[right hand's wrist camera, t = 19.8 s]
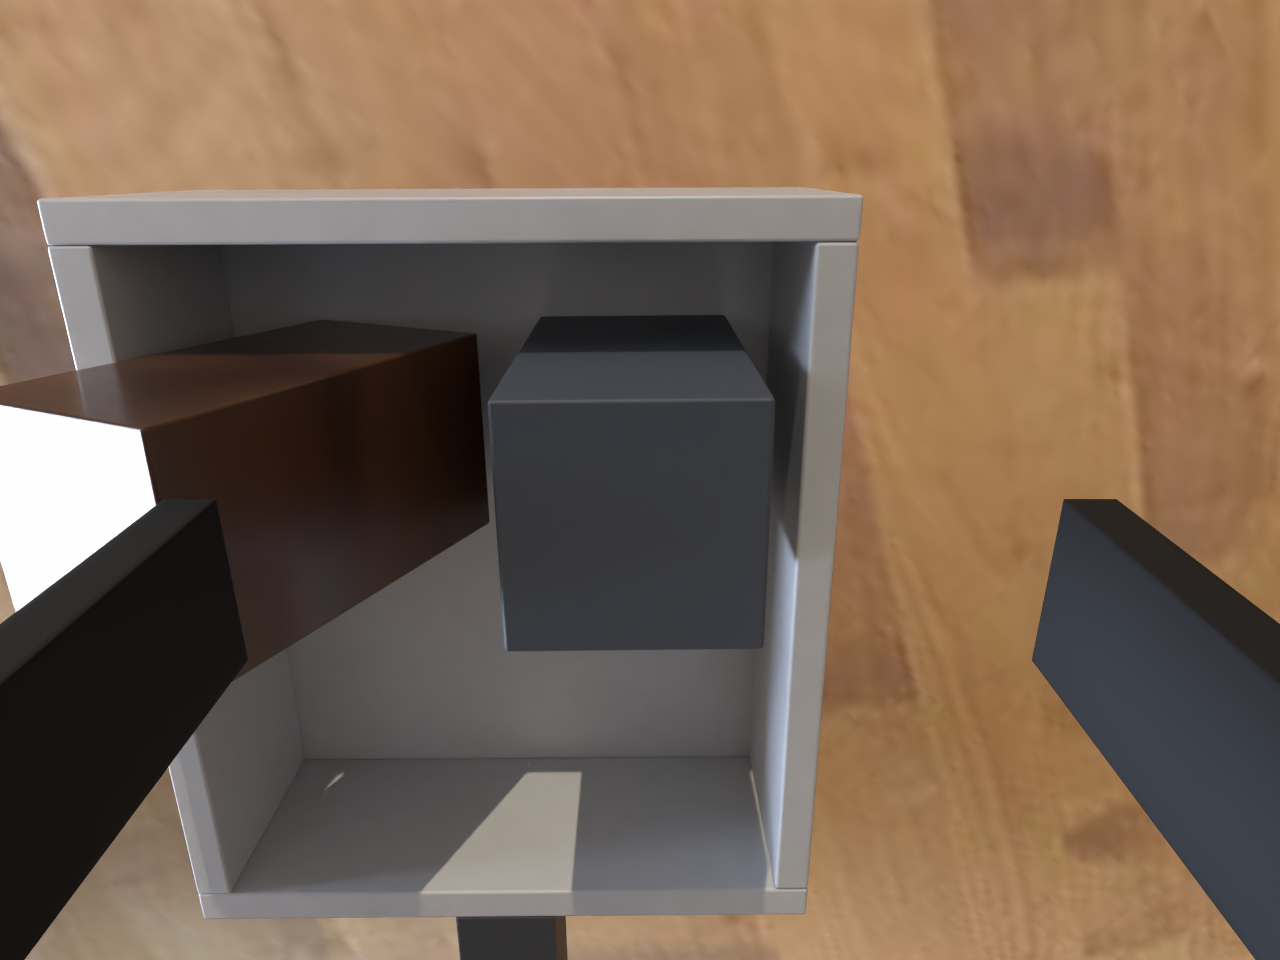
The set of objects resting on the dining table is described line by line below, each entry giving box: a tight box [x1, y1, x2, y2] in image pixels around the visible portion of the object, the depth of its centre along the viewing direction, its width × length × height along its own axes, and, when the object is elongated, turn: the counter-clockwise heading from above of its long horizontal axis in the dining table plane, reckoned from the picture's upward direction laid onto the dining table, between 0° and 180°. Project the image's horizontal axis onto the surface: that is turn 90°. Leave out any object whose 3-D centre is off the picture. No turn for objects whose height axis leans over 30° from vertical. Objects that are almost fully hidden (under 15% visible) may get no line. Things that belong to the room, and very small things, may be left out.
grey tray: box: [37, 187, 863, 960], centre depth 23 cm, size 29×15×6 cm, turn 0°
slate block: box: [487, 315, 775, 651], centre depth 18 cm, size 4×4×8 cm
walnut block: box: [0, 320, 490, 682], centre depth 17 cm, size 4×4×8 cm
